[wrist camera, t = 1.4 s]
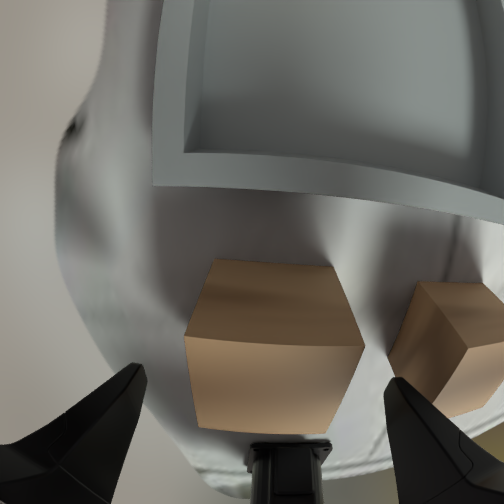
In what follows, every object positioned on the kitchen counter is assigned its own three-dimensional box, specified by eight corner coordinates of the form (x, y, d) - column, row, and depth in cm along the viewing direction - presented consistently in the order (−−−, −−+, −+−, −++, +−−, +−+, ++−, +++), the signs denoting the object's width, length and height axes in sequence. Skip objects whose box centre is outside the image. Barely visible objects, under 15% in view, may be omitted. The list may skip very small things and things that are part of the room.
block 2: (450, 350, 14) (482, 407, 9) (387, 356, 14) (413, 426, 9) (482, 282, 12) (532, 334, 7) (417, 280, 12) (468, 348, 7)
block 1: (313, 351, 14) (325, 433, 9) (216, 345, 14) (198, 426, 9) (332, 265, 12) (365, 345, 7) (214, 257, 12) (184, 336, 7)
